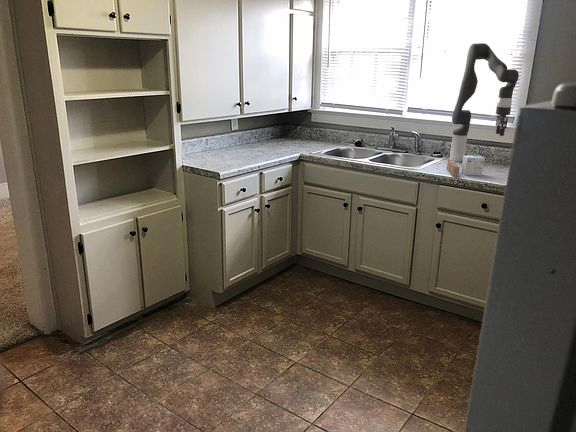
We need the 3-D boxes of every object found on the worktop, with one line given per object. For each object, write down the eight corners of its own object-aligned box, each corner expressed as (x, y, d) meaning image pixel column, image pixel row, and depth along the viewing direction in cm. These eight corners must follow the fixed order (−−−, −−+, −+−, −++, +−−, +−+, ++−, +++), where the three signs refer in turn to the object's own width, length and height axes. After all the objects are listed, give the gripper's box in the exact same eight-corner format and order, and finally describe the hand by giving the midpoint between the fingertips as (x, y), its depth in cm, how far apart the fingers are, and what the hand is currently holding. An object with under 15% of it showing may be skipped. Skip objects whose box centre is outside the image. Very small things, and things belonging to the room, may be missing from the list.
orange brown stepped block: (446, 169, 295) (447, 159, 293) (451, 169, 295) (453, 159, 293) (453, 177, 277) (454, 166, 275) (458, 177, 276) (459, 167, 274)
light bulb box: (477, 173, 288) (480, 155, 284) (482, 175, 282) (485, 157, 278) (460, 172, 287) (462, 155, 284) (464, 175, 281) (467, 157, 278)
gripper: (493, 105, 278) (489, 133, 283) (500, 106, 265) (495, 136, 270) (507, 105, 277) (503, 133, 282) (514, 107, 264) (509, 136, 269)
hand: (499, 134), depth 276 cm, fingers open, 8 cm apart
